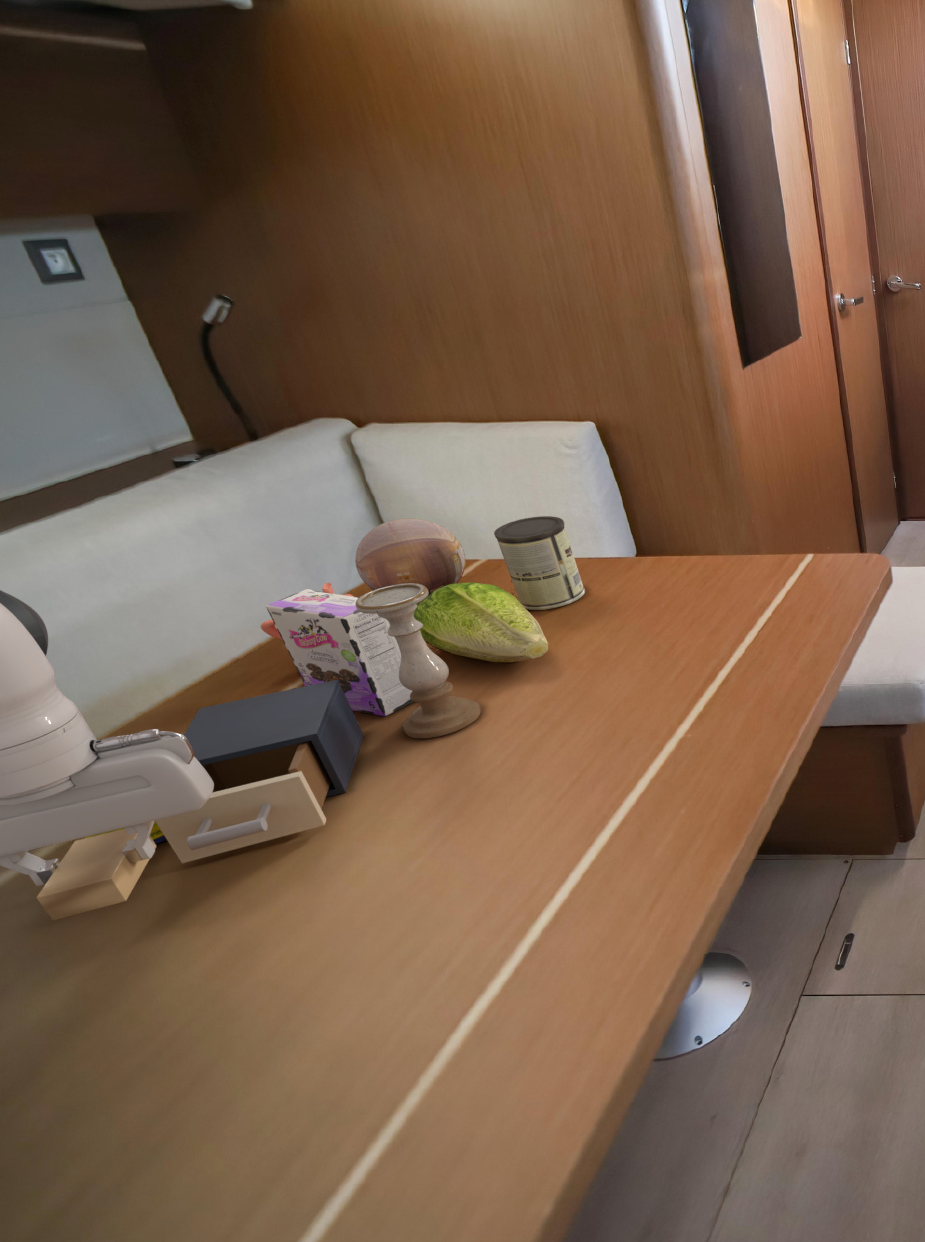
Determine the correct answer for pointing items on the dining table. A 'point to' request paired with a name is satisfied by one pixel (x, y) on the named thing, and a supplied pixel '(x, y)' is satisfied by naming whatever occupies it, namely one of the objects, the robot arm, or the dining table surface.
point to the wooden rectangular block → (92, 876)
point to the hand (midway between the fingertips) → (98, 868)
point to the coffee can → (540, 562)
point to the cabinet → (282, 728)
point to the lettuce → (480, 623)
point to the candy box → (342, 649)
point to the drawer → (253, 802)
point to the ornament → (410, 555)
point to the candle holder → (419, 664)
